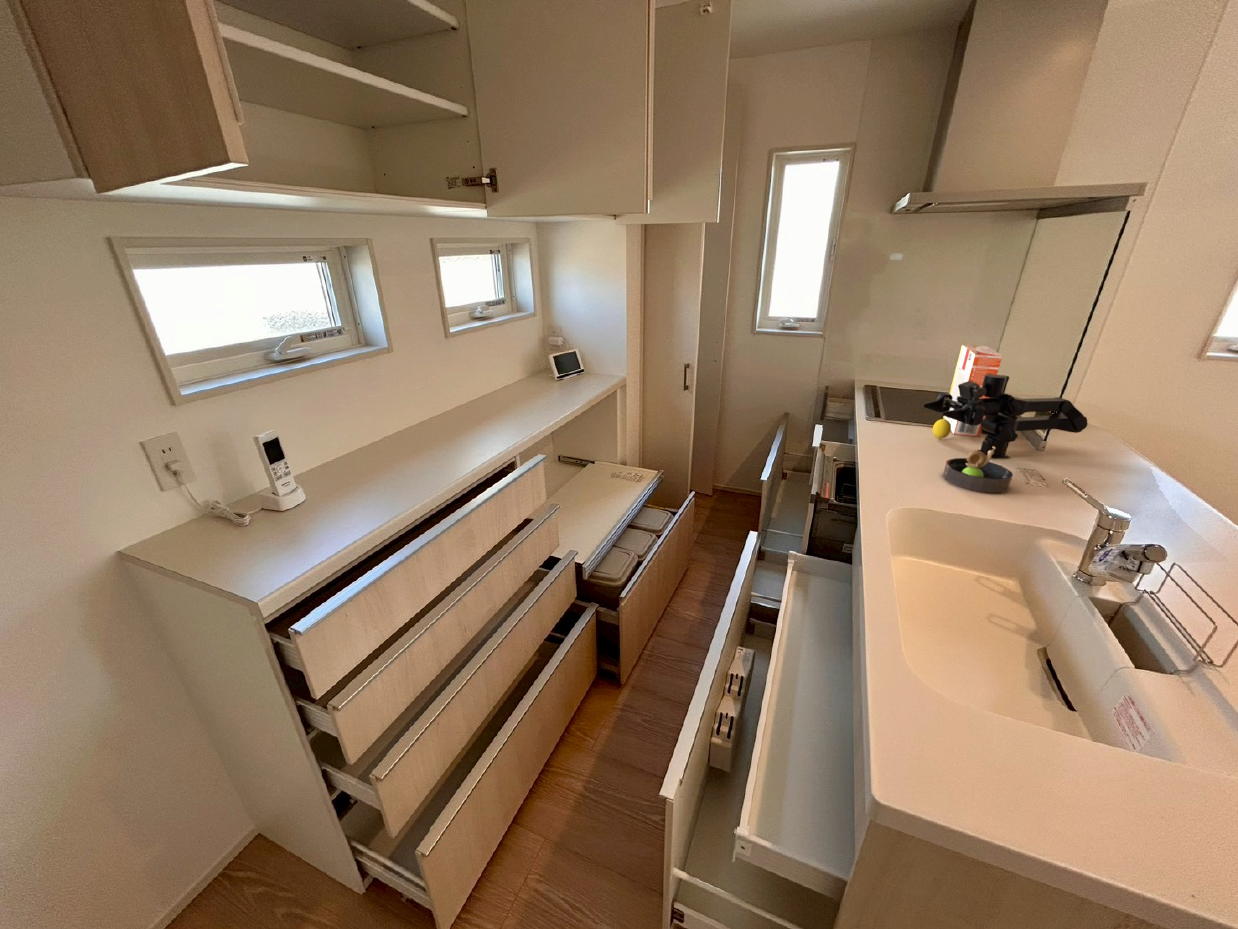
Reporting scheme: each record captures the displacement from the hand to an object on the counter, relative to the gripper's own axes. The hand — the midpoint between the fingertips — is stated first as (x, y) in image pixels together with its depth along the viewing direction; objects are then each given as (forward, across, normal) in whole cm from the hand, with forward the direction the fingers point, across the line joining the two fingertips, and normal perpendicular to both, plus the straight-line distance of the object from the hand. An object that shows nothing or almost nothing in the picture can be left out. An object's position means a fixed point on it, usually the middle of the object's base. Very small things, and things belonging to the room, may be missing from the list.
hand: (933, 409), depth 160 cm
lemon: (-17, -16, +17) cm, 29 cm away
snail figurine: (0, +23, +16) cm, 28 cm away
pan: (-2, +20, +17) cm, 26 cm away
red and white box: (-36, -30, +18) cm, 50 cm away
